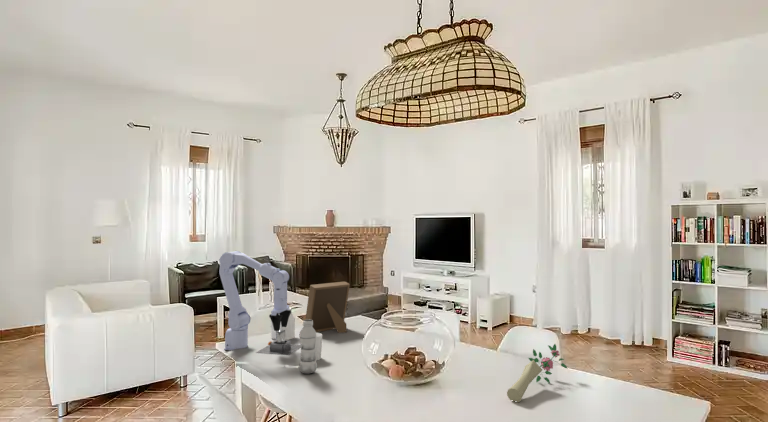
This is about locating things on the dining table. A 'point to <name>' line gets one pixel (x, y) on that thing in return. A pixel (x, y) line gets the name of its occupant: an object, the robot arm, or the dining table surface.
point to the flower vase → (532, 374)
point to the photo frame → (328, 306)
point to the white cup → (318, 346)
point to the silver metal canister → (280, 337)
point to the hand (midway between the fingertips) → (280, 328)
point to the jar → (286, 328)
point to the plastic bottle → (307, 348)
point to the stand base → (280, 348)
